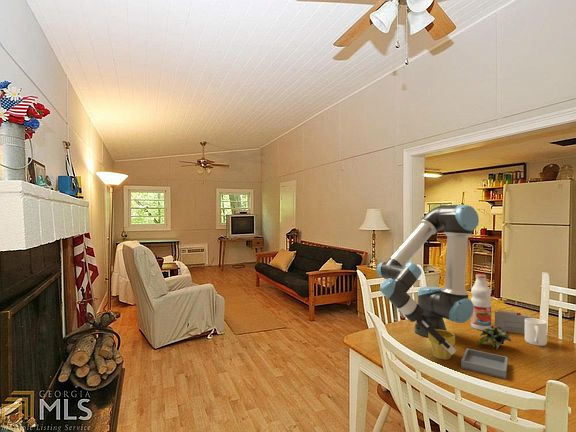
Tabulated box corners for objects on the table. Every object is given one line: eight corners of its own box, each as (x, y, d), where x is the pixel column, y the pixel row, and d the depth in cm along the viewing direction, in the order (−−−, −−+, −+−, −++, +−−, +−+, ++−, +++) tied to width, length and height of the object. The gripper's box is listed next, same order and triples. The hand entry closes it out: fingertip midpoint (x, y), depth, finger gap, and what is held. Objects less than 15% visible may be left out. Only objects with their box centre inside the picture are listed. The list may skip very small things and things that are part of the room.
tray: (461, 368, 128) (461, 360, 128) (466, 355, 140) (466, 348, 140) (505, 379, 120) (505, 371, 120) (507, 364, 132) (507, 356, 131)
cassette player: (531, 333, 165) (531, 313, 165) (532, 335, 163) (532, 315, 162) (494, 328, 172) (494, 309, 172) (495, 330, 170) (495, 311, 169)
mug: (549, 350, 144) (549, 327, 144) (526, 346, 149) (526, 324, 148) (545, 341, 154) (545, 319, 154) (523, 338, 159) (523, 316, 159)
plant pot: (424, 351, 144) (424, 328, 144) (448, 351, 144) (448, 329, 144) (434, 361, 134) (434, 337, 134) (459, 361, 134) (459, 338, 134)
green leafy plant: (496, 356, 151) (513, 336, 150) (500, 361, 141) (518, 340, 140) (473, 338, 156) (489, 319, 155) (475, 342, 146) (492, 321, 145)
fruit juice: (481, 324, 178) (482, 272, 178) (495, 330, 169) (495, 276, 169) (466, 325, 177) (466, 273, 176) (479, 331, 168) (479, 277, 167)
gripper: (398, 307, 152) (433, 342, 150) (411, 324, 129) (453, 365, 128) (409, 296, 151) (445, 331, 150) (425, 311, 128) (467, 352, 127)
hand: (448, 347), depth 139 cm, fingers closed on plant pot, 10 cm apart
